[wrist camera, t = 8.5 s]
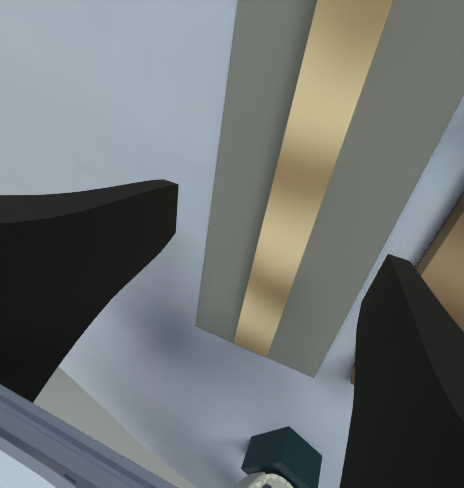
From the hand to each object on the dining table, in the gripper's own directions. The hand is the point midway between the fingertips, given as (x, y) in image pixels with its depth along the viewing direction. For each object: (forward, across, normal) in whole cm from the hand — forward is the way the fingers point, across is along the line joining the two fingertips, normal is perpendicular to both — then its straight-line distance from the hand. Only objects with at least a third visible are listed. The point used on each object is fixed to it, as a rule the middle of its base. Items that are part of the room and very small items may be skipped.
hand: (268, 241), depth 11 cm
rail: (+7, 0, 0) cm, 7 cm away
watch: (+8, -6, +27) cm, 29 cm away
